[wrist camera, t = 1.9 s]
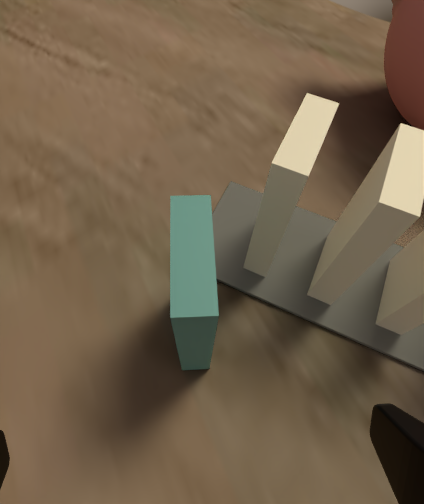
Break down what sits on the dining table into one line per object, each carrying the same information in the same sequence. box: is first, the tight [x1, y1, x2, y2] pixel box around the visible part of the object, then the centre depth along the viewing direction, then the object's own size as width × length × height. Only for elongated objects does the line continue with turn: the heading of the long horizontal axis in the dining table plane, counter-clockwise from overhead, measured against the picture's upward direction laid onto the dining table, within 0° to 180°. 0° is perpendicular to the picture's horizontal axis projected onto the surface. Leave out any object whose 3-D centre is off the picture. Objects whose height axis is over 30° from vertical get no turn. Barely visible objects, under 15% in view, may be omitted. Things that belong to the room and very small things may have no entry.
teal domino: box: [170, 195, 219, 370], centre depth 17 cm, size 2×5×10 cm, turn 3°
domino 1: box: [243, 93, 339, 277], centre depth 20 cm, size 2×5×10 cm, turn 155°
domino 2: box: [307, 123, 424, 305], centre depth 19 cm, size 2×5×10 cm, turn 155°
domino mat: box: [212, 181, 424, 371], centre depth 23 cm, size 8×27×1 cm, turn 65°
